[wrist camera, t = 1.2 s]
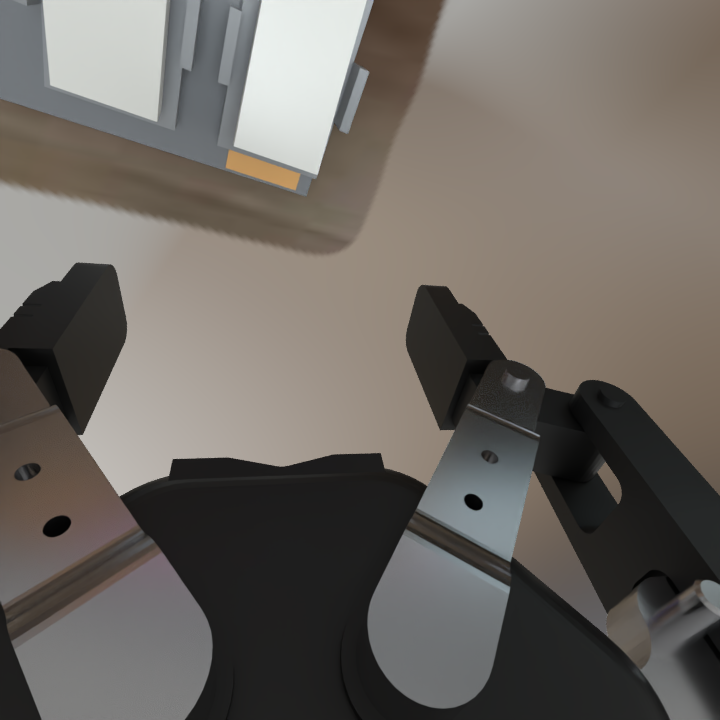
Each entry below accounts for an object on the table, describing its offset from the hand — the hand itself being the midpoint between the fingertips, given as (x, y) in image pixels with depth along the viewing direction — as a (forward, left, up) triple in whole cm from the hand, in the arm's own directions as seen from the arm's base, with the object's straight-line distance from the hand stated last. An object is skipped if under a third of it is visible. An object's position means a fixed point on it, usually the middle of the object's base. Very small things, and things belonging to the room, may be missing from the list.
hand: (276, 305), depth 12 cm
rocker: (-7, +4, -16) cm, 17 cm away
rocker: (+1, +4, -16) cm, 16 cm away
